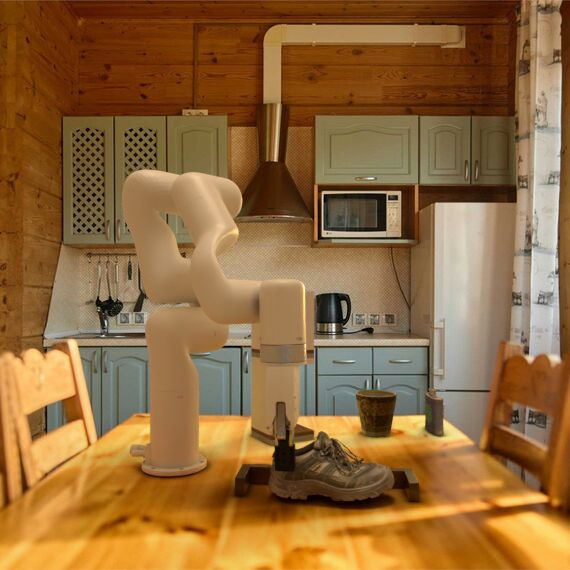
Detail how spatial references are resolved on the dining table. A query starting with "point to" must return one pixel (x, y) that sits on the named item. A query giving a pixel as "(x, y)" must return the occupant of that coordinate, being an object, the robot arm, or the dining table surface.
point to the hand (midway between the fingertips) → (285, 469)
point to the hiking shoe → (330, 474)
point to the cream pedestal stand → (259, 380)
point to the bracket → (262, 471)
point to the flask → (433, 413)
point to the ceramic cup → (376, 411)
